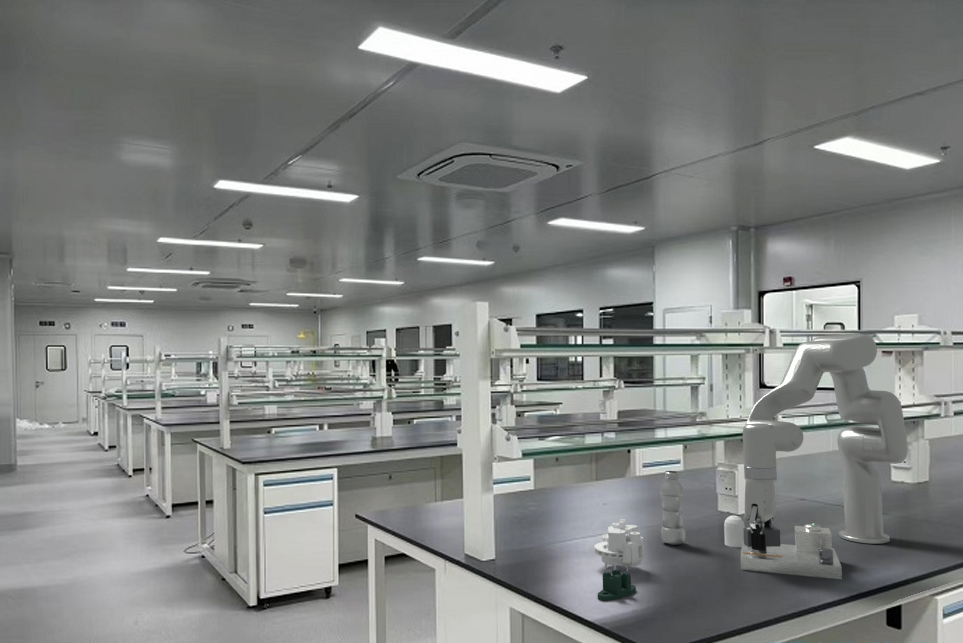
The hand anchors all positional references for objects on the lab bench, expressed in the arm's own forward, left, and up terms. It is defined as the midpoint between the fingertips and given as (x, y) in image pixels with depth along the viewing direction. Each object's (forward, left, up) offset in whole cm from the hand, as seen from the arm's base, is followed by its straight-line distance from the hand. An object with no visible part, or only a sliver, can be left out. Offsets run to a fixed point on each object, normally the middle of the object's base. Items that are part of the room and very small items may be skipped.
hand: (762, 546), depth 168 cm
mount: (+32, -30, -5) cm, 44 cm away
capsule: (-19, -7, -5) cm, 21 cm away
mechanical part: (+14, -33, -5) cm, 36 cm away
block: (0, 0, -2) cm, 2 cm away
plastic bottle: (-14, -23, -5) cm, 28 cm away
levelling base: (-4, +6, -5) cm, 9 cm away
